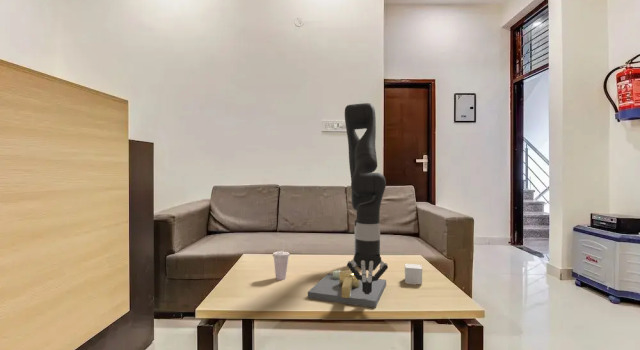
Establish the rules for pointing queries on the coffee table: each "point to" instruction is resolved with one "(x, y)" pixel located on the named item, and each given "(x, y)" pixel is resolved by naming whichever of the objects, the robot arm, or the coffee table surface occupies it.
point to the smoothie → (281, 263)
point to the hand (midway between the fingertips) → (366, 293)
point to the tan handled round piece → (347, 282)
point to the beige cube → (413, 274)
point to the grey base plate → (333, 292)
